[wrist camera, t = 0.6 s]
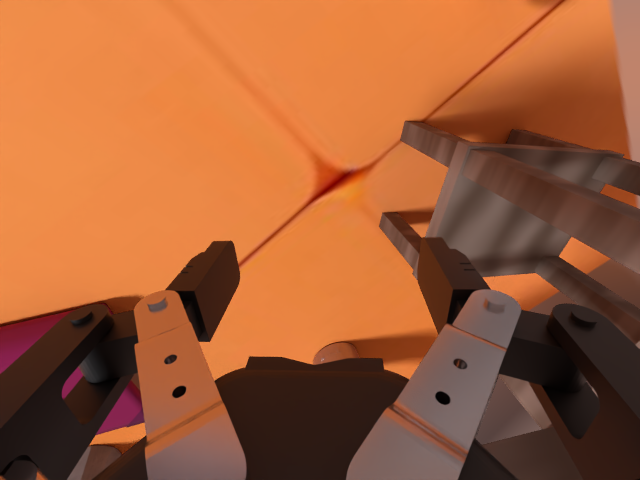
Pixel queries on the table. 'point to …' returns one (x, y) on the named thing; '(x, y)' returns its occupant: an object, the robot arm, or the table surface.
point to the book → (17, 338)
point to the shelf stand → (530, 218)
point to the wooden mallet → (535, 456)
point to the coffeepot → (94, 462)
